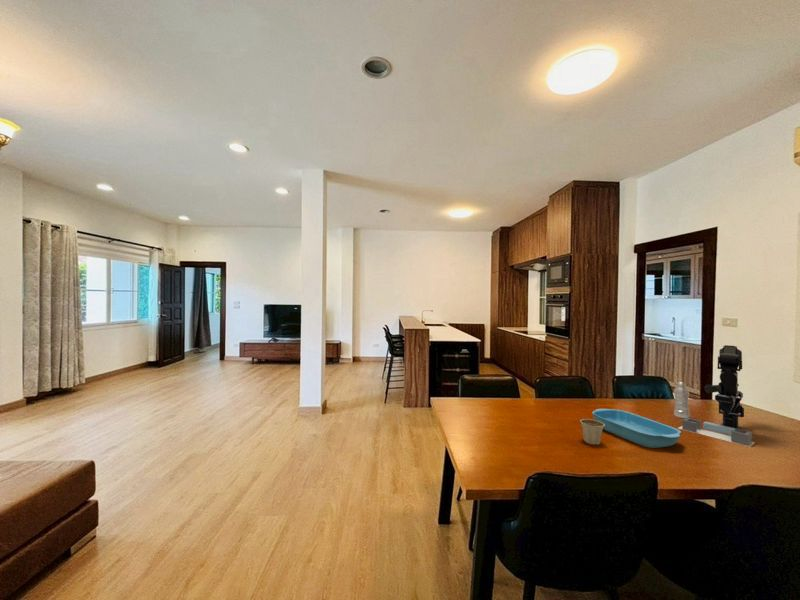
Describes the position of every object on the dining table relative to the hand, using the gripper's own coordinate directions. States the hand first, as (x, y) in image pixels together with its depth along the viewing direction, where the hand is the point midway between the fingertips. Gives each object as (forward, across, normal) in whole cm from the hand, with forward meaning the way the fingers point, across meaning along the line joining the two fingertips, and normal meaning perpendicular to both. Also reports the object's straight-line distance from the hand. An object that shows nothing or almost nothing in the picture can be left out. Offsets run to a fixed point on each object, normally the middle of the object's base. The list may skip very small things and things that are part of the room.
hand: (729, 413), depth 155 cm
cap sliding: (+10, +9, +6) cm, 14 cm away
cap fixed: (+10, +9, -12) cm, 17 cm away
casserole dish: (+11, +40, -25) cm, 48 cm away
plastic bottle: (+11, -11, -21) cm, 26 cm away
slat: (+11, 0, -2) cm, 11 cm away
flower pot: (+10, +66, -31) cm, 73 cm away
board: (+10, +8, -3) cm, 14 cm away
